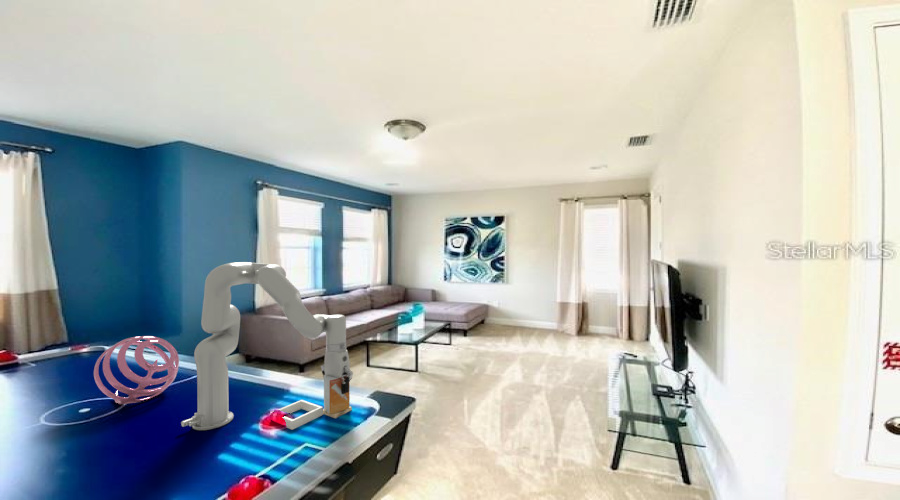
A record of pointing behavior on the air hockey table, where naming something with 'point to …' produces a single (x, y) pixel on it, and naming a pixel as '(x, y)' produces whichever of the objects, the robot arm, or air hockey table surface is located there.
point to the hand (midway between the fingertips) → (336, 390)
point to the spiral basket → (142, 363)
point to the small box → (334, 395)
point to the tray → (312, 414)
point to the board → (337, 413)
